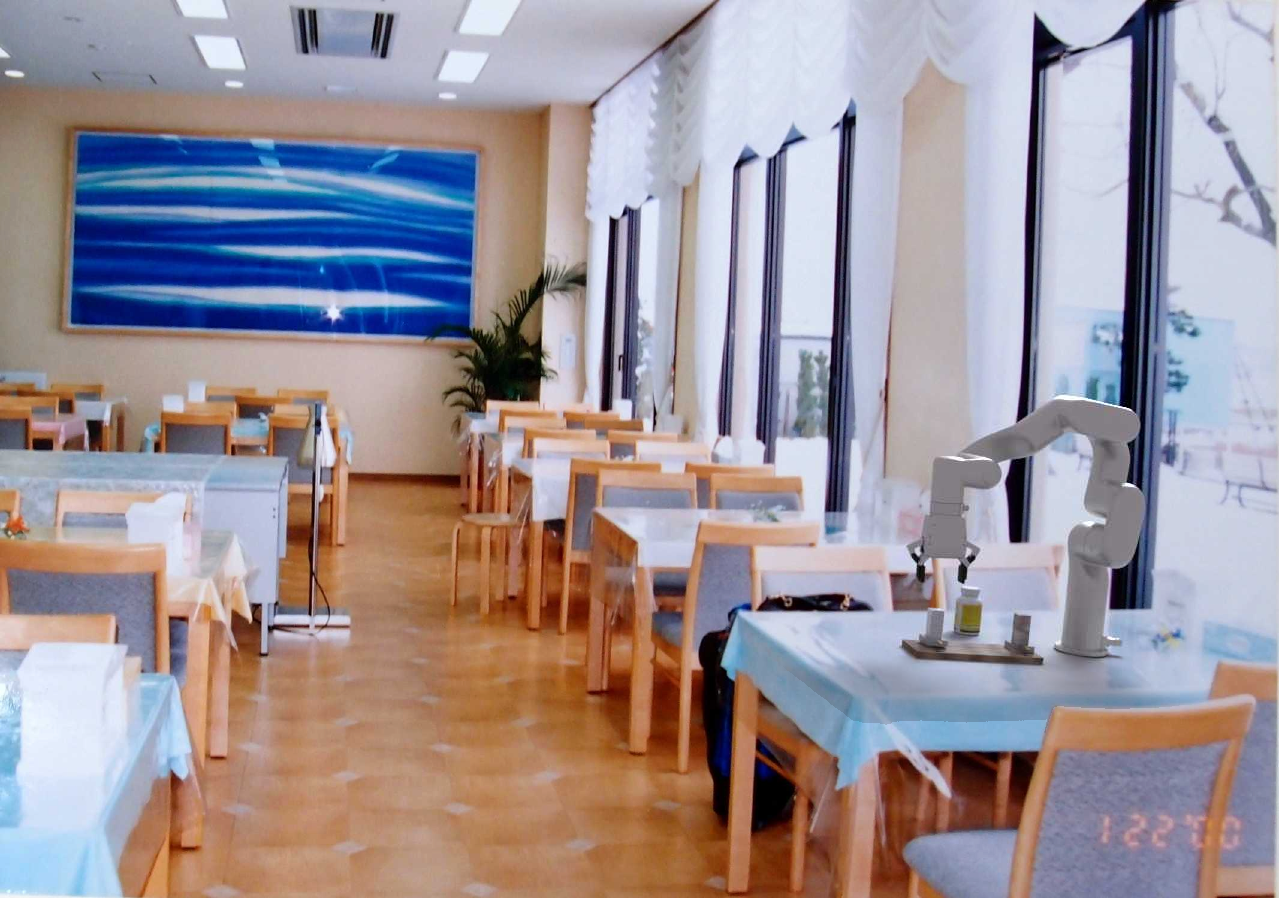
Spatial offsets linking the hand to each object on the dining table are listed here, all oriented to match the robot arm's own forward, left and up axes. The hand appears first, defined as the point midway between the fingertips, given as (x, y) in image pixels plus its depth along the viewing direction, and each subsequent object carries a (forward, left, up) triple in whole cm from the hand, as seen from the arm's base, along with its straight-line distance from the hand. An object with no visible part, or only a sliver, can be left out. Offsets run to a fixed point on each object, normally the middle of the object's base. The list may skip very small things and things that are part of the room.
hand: (941, 581), depth 330 cm
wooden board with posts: (-8, +2, -17) cm, 19 cm away
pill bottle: (-15, -22, -17) cm, 32 cm away
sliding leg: (+1, +2, -15) cm, 15 cm away
